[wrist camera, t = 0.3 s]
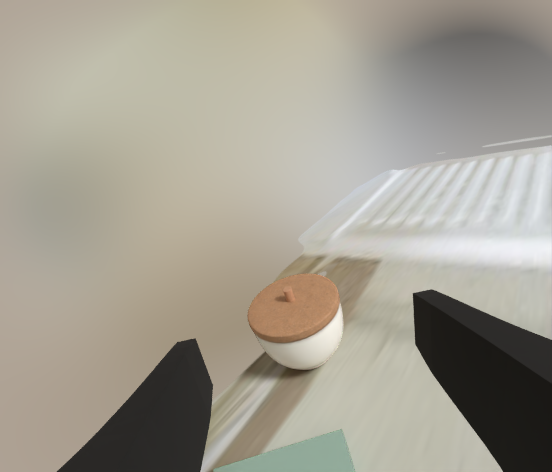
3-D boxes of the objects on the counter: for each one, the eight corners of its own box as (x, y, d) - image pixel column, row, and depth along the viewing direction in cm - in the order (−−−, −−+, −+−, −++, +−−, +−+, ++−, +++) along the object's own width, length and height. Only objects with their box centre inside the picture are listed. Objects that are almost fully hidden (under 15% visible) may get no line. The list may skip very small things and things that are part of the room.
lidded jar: (299, 408, 30) (269, 341, 26) (254, 351, 39) (228, 296, 35) (372, 346, 34) (355, 280, 30) (316, 308, 43) (298, 254, 39)
